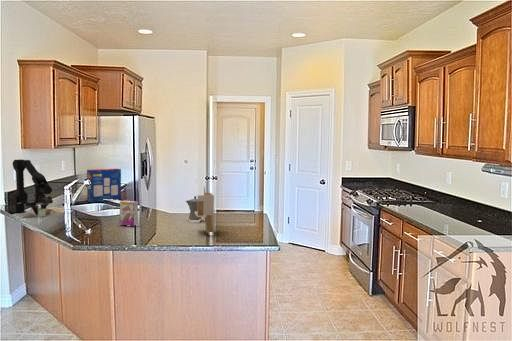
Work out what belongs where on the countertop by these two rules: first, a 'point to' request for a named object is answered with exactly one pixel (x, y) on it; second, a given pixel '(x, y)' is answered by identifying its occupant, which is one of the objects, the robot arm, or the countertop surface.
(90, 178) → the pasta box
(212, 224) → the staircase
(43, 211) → the sage cube
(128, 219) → the candy bar box
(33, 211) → the white cube
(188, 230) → the countertop surface
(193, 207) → the coffeepot
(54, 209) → the birch block
